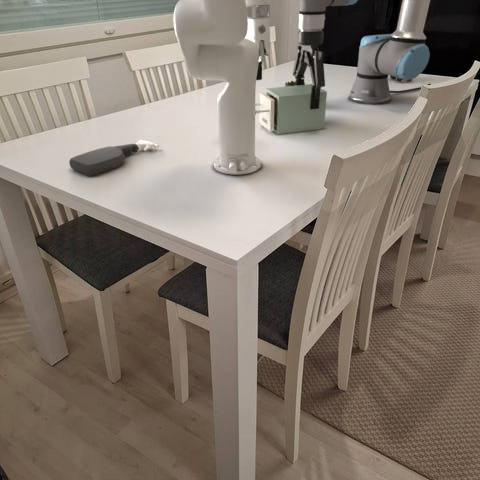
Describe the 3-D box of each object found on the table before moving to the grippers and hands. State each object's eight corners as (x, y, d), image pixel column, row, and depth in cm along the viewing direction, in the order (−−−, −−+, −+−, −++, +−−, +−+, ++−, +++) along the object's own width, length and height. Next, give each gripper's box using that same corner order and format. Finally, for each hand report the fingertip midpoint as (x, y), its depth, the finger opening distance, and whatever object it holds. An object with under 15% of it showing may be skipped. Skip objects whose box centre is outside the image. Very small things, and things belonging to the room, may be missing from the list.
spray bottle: (67, 168, 120) (139, 144, 136) (91, 178, 114) (163, 151, 130) (65, 157, 118) (137, 134, 134) (89, 167, 112) (162, 142, 128)
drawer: (253, 133, 139) (253, 102, 134) (243, 124, 147) (242, 94, 141) (313, 126, 144) (315, 95, 139) (300, 117, 152) (301, 88, 147)
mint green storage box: (277, 134, 141) (279, 96, 135) (265, 124, 150) (265, 88, 143) (324, 128, 145) (327, 91, 139) (309, 119, 154) (311, 84, 148)
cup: (281, 105, 168) (282, 83, 164) (288, 101, 173) (289, 79, 169) (299, 108, 165) (301, 85, 161) (306, 103, 170) (308, 81, 166)
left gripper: (278, 13, 121) (276, 83, 130) (259, 9, 133) (259, 73, 142) (252, 15, 119) (252, 86, 128) (235, 10, 131) (236, 75, 140)
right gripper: (341, 34, 124) (334, 112, 136) (305, 24, 143) (301, 94, 155) (317, 35, 123) (311, 115, 134) (284, 26, 142) (281, 96, 153)
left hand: (256, 79), depth 135 cm, fingers closed
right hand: (306, 104), depth 145 cm, fingers closed on mint green storage box, 11 cm apart
